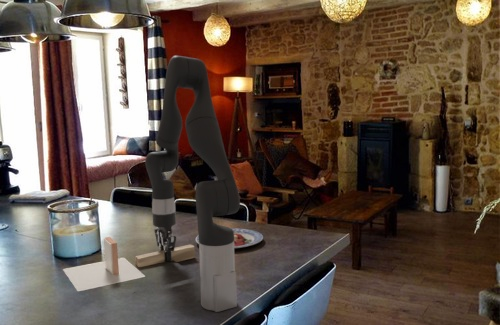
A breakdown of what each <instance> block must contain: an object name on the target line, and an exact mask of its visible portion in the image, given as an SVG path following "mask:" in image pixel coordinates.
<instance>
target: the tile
mask: <svg viewBox="0 0 500 325" xmlns="http://www.w3.org/2000/svg"><path fill="white" fill-rule="evenodd" d="M103 248H104V261H105V267H106V269H107V270H108V271H109V272H110V273H111V274H112V275H117V274H119V267H118V258H119V255H118V254H119V253H118V250H119V249H118V242H117V241H116V240H114V239H113V238H112V237H111V236H106V237H104V238H103Z"/></svg>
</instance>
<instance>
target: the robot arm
mask: <svg viewBox="0 0 500 325" xmlns="http://www.w3.org/2000/svg"><path fill="white" fill-rule="evenodd" d="M167 64H168V65H167V69H166V74H165V80H164V91H163V102H162V111H161V118H160V123H159V127H158V130H157V135H156V140H155V141H156V145H157V146H158V147H159V148H161V149H164V150H162V151H161V150H160V151H152V152H149V153H148V154H147V155H146V157H145V162H144V163H145V168H146V172H147V174H148V177H149V182H150V184H151V193H152V201H151V208H152V213H151V214H152V225H153V226H154V227H156V228H155V229H154V230H153V231H154V235H155V241H156V245H157V247H158V249H159V251H163V250H164V256H165V262H164V263H168V262H172V261H173V260H171V251H174V248H176V241H177V236H176V235H173V230H172V227H173V226H175V225H176V223H177V222H176V221H177V220H176V219H177V218H176V201H175V191H174V190H175V189H174V188H175V187H174V182H173V180H171V179H168V178H163V176H162V174H163V173H170V172H173V171H174V170H175V169H176V168H177V167H178V165H179V142H180V137H181V135H182V130H183V118H182V115H181V114H182V113H181V112H180V108H179V107H178V103H177V90H178V88H181V89H188V90H192V91H193V93H194V94H193V95H194V101H193V104H192V106H191V107H190V110H189V111H188V113H187V115H186V117H185V122H184V123H185V124H184V125H185V126H184V127H185V131H186V136H187V140H188V144H189V146H190V148H191V149H192V151H194V152H195V154H197V156H199V157H200V158H201V160H203V161H204V162H205V163H206V164H207V165H208V167H210V169H211V170H212V171H213V173H214V175H215V176H216V180H204V181H200V182H198V183H197V184H196V187H195V196H194V197H195V207H196V219H197V232H198V235H199V244H198V254H199V255H198V256H199V280H200V282H199V284H200V285H199V286H200V304H201V307H202V308H203V309H205V310H208V311H213V312H215V313H219V312H222V311H226V310H230V309H232V308H236V307H238V302H237V300H238V299H237V272H236V269H235V264H236V263H235V249H234V232H233V230H232V229H231V227H228V226H224V225H220V224H217V223H215V222H214V221H213V217H219V216H228V215H234V214H236V213H237V212H238V211H239V210H240V207H241V206H240V205H241V199H240V192H239V188H238V186H237V182H236V180H235V179H236V178H235V176H234V173H233V171H232V168H231V165H230V163H229V160H228V158H227V157H228V156H227V154H226V150H225V145H224V142H223V138H222V133H221V128H220V125H219V124H220V123H219V121H218V118H217V115H216V111H215V107H214V103H213V100H212V95H211V88H210V82H209V81H210V80H209V76H208V70H207V67H206V64H205V62H204V61H203V60H201V59H199V58H194V57H188V56H182V55H173V56H172V57H171V58H170V59H169V62H168V63H167ZM157 227H158V229H157Z"/></svg>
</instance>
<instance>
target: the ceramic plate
mask: <svg viewBox="0 0 500 325" xmlns="http://www.w3.org/2000/svg"><path fill="white" fill-rule="evenodd" d="M230 228H231V227H230ZM231 229H232V230H233V232H234V250H236V249H241V248H246V247H250V246H254V245H257V244H259V243H261V241H263V239H264V236H263V235H262V233H261V232H258V231H256V230H253V229H252V230H251V229H247V228H236V227H235V228H234V227H233V228H231ZM195 242H196V244H198V245H199V234H198V235H197V236H196V237H195Z"/></svg>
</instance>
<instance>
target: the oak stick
mask: <svg viewBox="0 0 500 325" xmlns="http://www.w3.org/2000/svg"><path fill="white" fill-rule="evenodd" d="M195 247H196V246H195V245H193V244H186V245H182V246H177V247H176V246H175V248H174V251H171V260H172V261H173V262H176V263H178V262H182V261H186V260H191V259H196V251H195V250H196V249H195ZM134 260H135V265H136V266H137V267H138V268H142V267H148V266H151V265H156V264H161V263H166V262H165V256H164V250H163V251H160V250H159V251H158V250H157V251H154V252H148V253H144V254H139V255H136V256H135V257H134Z"/></svg>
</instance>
